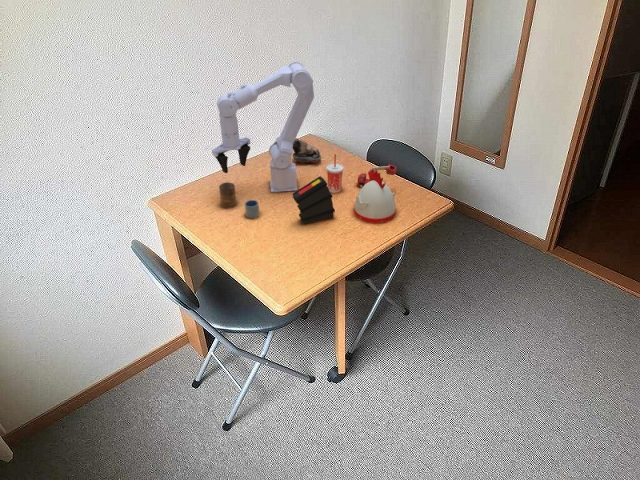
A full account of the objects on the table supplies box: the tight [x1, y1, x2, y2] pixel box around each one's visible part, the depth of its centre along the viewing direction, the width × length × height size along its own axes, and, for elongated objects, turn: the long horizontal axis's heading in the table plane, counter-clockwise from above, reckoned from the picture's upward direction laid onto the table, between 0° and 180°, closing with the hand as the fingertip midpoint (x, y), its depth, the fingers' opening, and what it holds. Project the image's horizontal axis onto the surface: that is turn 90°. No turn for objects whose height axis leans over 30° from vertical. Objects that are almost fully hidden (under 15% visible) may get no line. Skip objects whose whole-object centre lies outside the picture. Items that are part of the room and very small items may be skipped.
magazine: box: [291, 175, 336, 225], centre depth 158 cm, size 4×13×15 cm, turn 110°
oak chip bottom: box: [220, 198, 237, 209], centre depth 168 cm, size 5×5×2 cm
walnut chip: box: [218, 182, 236, 196], centre depth 166 cm, size 5×5×2 cm
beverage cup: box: [325, 153, 345, 194], centre depth 173 cm, size 6×6×14 cm
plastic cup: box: [244, 199, 260, 219], centre depth 162 cm, size 4×4×4 cm
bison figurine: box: [292, 137, 322, 164], centre depth 192 cm, size 12×7×10 cm, turn 94°
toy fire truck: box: [356, 164, 397, 189], centre depth 175 cm, size 3×14×10 cm, turn 68°
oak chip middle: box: [219, 192, 237, 202], centre depth 167 cm, size 5×5×2 cm
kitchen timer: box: [353, 169, 396, 224], centre depth 160 cm, size 14×14×15 cm
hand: (234, 168), depth 170 cm, fingers open, 7 cm apart
